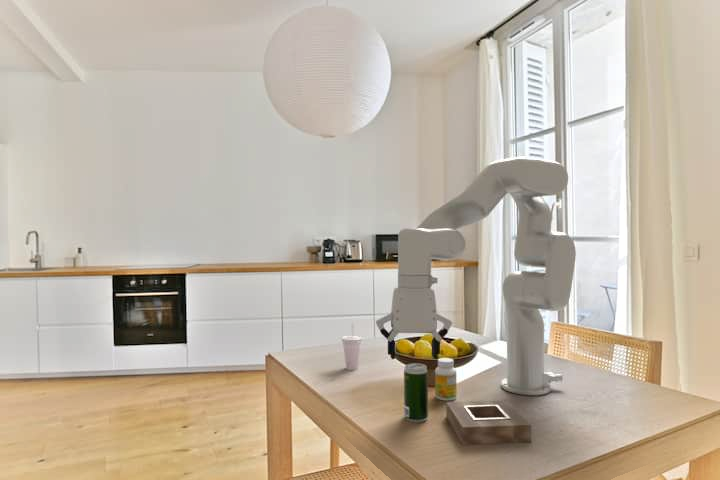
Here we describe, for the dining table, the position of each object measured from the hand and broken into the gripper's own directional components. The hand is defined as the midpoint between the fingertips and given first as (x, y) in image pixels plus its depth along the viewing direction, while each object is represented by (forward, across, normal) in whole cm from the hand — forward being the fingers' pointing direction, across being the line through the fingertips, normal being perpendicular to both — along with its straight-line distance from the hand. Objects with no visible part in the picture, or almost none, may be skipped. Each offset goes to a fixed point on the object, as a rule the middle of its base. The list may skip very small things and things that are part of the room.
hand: (413, 357), depth 108 cm
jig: (+14, -15, +7) cm, 21 cm away
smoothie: (+14, +12, -41) cm, 45 cm away
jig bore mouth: (+10, -15, +7) cm, 19 cm away
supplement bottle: (+14, -11, -13) cm, 22 cm away
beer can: (+14, -1, 0) cm, 14 cm away
